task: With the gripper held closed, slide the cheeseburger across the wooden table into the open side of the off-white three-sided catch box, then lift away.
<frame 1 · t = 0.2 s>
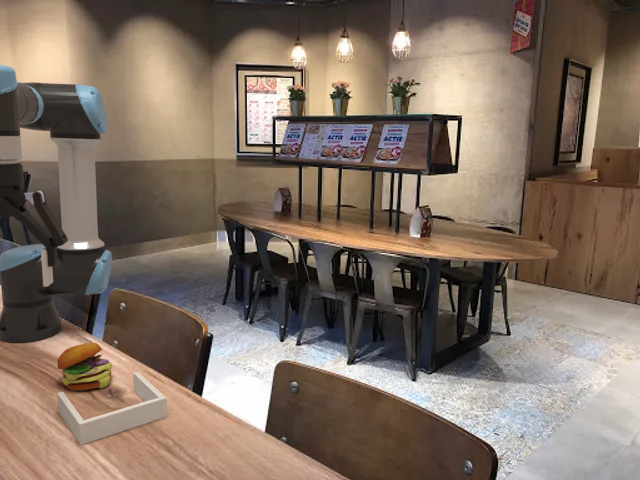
hand: (6, 284, 93), 28 cm above the table, fingers open, 13 cm apart
catch box: (111, 413, 105), on the table
cheeseburger: (85, 383, 116), on the table
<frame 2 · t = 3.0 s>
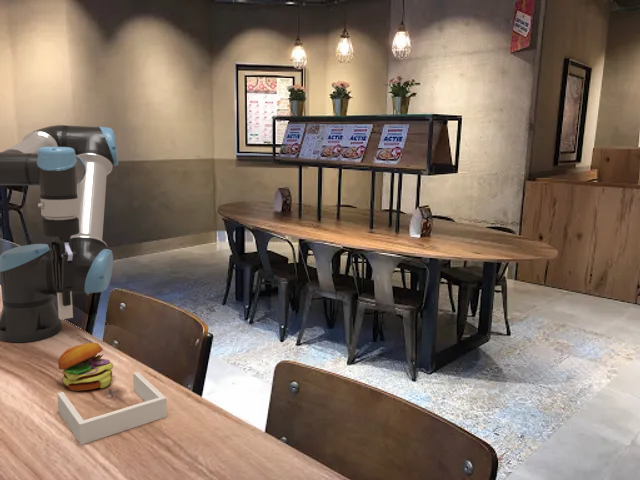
hand: (65, 317, 123), 11 cm above the table, fingers closed
nothing on the table moved.
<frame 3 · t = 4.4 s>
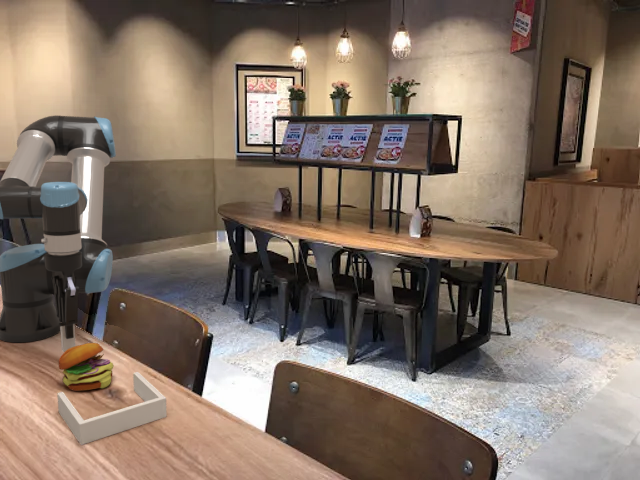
hand: (68, 349, 124), 4 cm above the table, fingers closed
nothing on the table moved.
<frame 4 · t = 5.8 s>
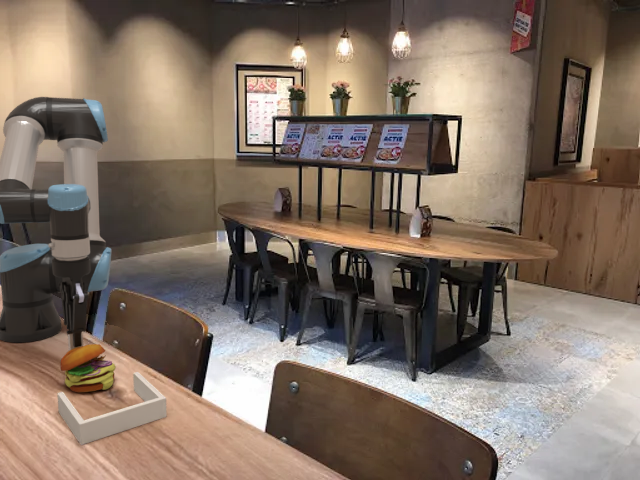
hand: (76, 358, 120), 4 cm above the table, fingers closed
cheeseburger: (88, 385, 116), on the table, touching gripper
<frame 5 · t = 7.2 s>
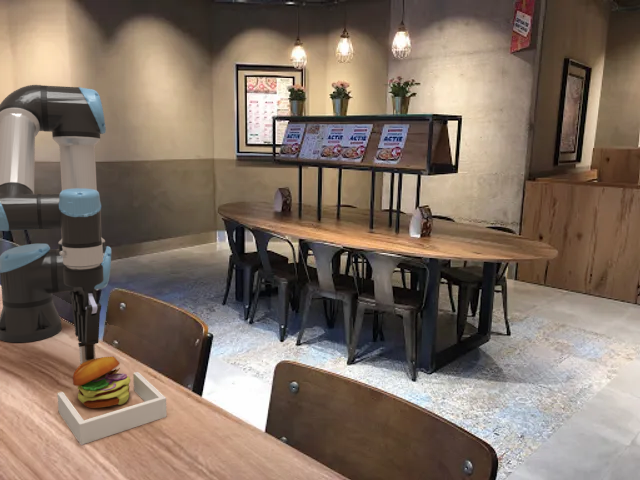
hand: (88, 371, 114), 4 cm above the table, fingers closed
cheeseburger: (102, 399, 110), on the table, touching gripper
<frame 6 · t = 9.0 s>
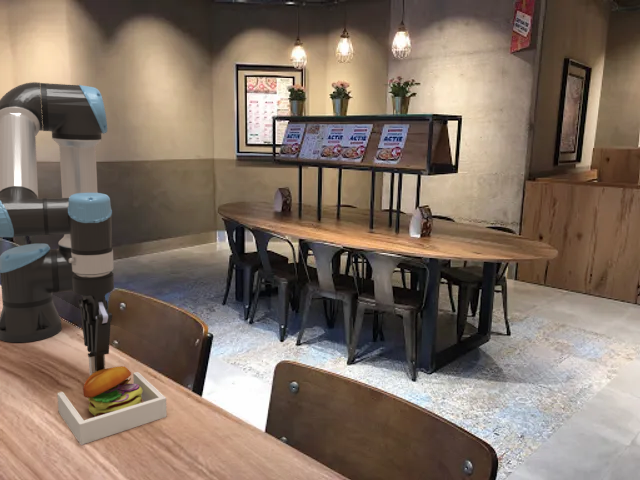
hand: (98, 382, 109), 3 cm above the table, fingers closed
cheeseburger: (114, 411, 106), on the table, touching gripper
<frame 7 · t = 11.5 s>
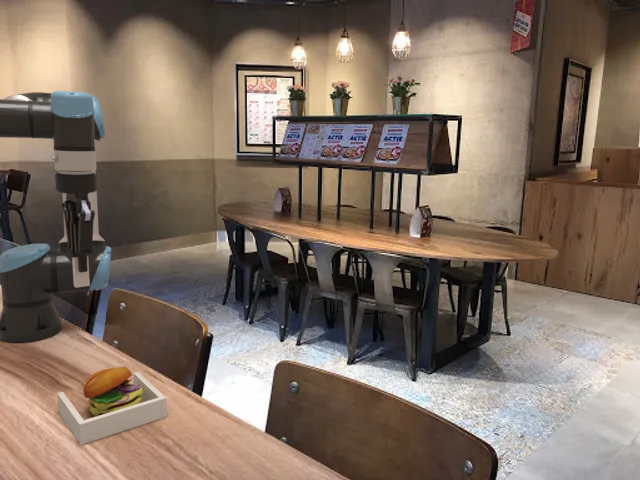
hand: (81, 285, 110), 22 cm above the table, fingers closed
cheeseburger: (114, 412, 106), on the table
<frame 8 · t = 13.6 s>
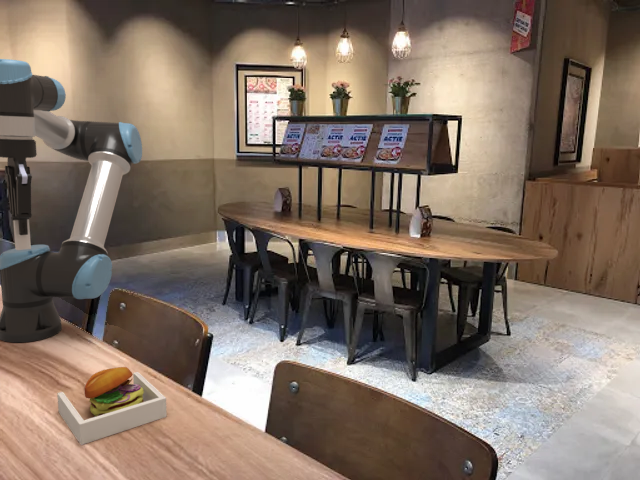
hand: (23, 248, 115), 28 cm above the table, fingers closed
nothing on the table moved.
at the end: cheeseburger 1.0 cm from the catch box (horizontally); cheeseburger tilted 1° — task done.
